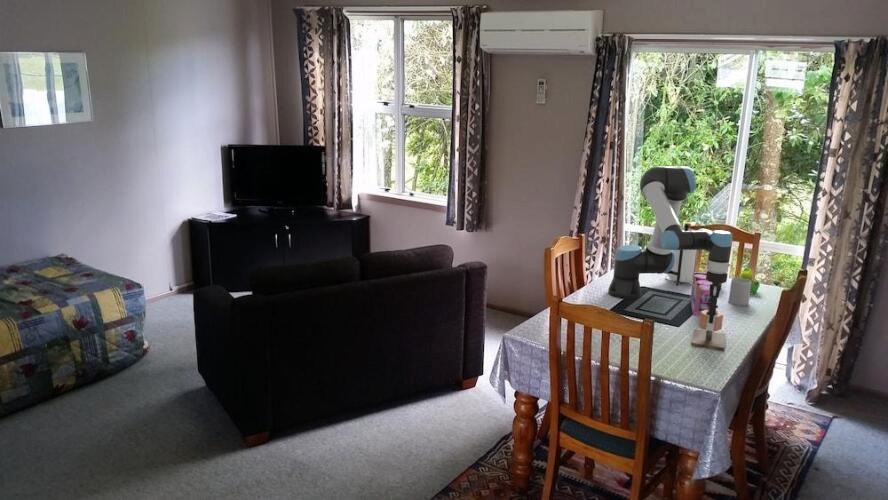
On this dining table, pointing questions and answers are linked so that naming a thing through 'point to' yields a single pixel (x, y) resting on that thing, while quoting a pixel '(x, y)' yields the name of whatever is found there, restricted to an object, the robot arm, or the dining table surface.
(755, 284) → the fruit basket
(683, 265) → the coffee press
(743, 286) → the mug
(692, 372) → the dining table surface
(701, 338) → the peg board
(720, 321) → the hex nut
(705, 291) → the gum box
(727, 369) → the dining table surface
